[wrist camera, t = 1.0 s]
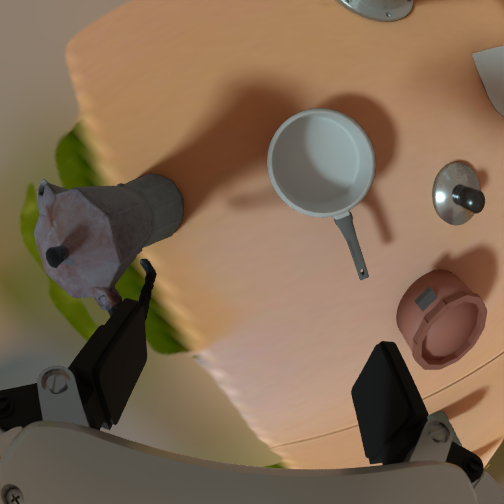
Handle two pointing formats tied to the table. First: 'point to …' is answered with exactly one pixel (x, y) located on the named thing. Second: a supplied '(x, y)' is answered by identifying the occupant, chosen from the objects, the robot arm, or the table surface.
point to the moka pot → (104, 234)
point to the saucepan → (323, 169)
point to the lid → (457, 193)
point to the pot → (440, 319)
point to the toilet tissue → (492, 74)
